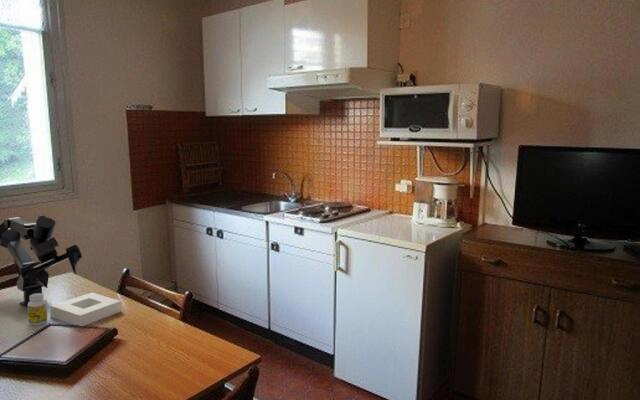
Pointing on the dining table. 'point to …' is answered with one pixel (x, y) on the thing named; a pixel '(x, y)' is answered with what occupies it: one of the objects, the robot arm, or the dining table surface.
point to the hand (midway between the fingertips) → (61, 280)
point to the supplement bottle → (37, 309)
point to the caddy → (85, 309)
